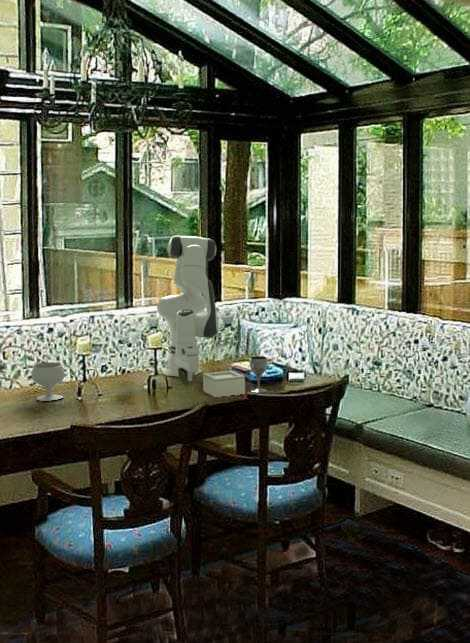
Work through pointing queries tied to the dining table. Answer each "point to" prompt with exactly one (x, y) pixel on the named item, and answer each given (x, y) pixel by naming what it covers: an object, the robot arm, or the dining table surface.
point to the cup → (184, 377)
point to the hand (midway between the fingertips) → (186, 378)
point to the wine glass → (258, 369)
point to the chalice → (48, 378)
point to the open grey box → (223, 383)
